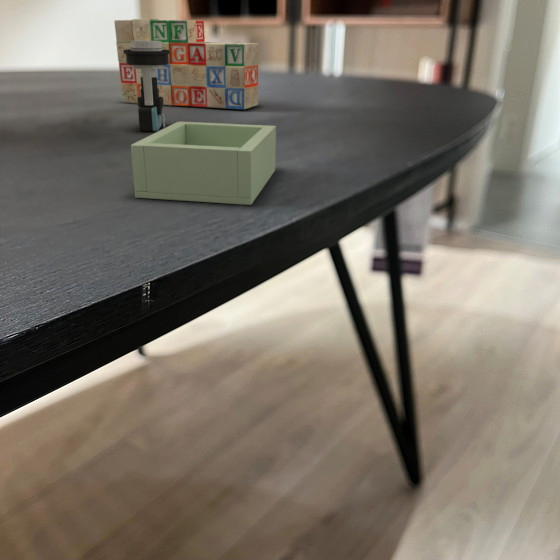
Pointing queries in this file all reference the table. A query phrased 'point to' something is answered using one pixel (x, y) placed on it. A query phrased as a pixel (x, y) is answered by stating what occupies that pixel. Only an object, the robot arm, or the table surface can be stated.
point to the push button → (148, 80)
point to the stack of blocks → (191, 65)
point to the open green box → (205, 162)
